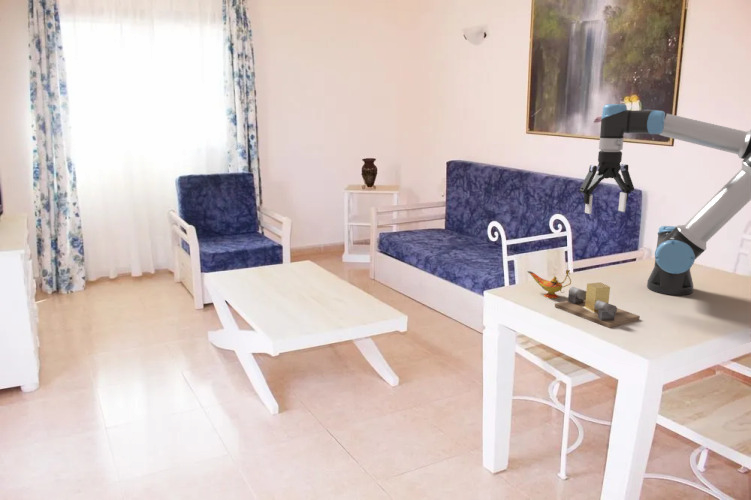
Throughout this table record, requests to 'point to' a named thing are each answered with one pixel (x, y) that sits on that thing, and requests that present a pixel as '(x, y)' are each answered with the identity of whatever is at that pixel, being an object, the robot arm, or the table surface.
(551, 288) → the magic lamp
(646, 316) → the table surface
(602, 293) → the block
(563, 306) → the shaft bench
